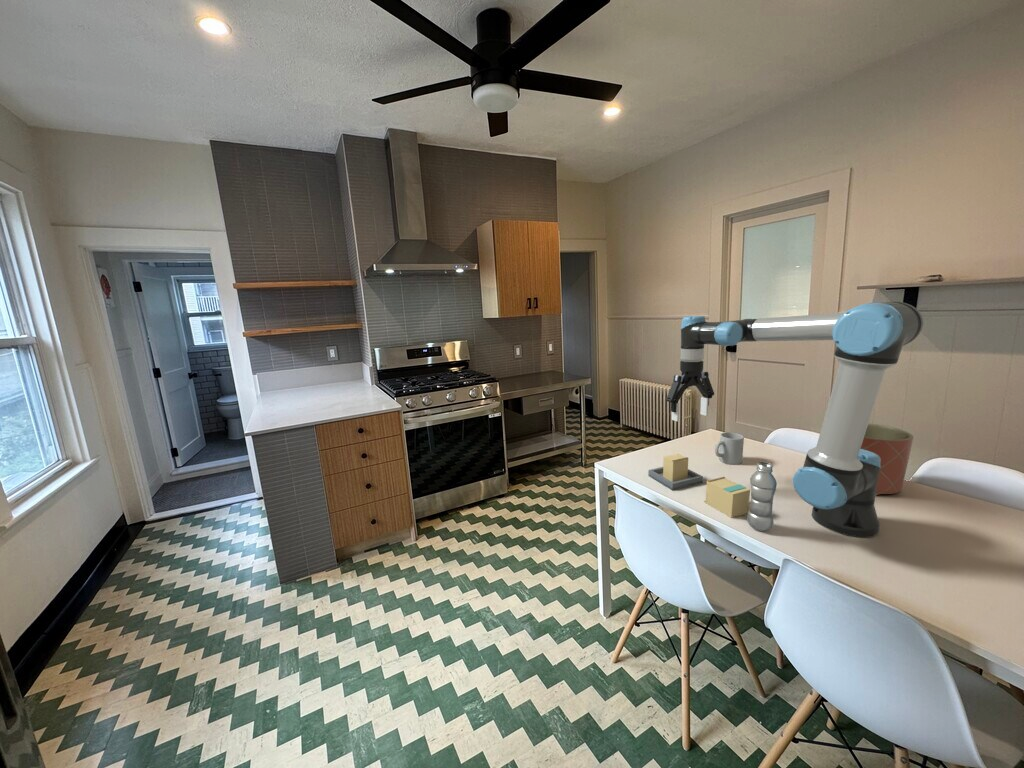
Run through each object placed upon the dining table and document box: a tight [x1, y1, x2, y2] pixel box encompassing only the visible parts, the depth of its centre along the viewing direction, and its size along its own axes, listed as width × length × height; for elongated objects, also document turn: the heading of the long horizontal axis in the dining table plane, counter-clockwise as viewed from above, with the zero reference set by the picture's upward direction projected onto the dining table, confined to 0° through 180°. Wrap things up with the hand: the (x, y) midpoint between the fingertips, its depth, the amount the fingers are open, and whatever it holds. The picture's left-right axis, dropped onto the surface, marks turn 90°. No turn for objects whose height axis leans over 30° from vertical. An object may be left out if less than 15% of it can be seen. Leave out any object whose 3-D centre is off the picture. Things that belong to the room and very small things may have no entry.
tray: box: [647, 466, 704, 491], centre depth 147 cm, size 13×14×2 cm
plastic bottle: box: [746, 461, 778, 532], centre depth 112 cm, size 6×7×20 cm
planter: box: [860, 422, 914, 496], centre depth 134 cm, size 19×19×20 cm
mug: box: [714, 432, 745, 466], centre depth 159 cm, size 12×8×11 cm
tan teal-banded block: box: [703, 476, 751, 519], centre depth 125 cm, size 11×7×8 cm, turn 20°
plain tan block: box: [662, 453, 689, 482], centre depth 146 cm, size 5×7×8 cm
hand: (689, 417), depth 141 cm, fingers open, 13 cm apart
